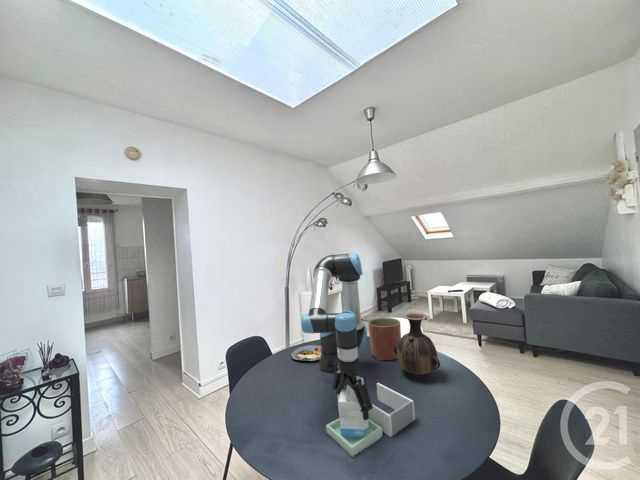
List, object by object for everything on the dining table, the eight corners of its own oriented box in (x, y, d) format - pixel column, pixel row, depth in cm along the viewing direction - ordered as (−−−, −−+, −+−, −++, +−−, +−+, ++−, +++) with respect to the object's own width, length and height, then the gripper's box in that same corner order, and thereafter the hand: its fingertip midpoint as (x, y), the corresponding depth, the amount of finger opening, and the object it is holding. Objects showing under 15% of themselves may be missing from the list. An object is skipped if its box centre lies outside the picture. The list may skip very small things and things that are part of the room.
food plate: (335, 348, 172) (334, 343, 173) (324, 365, 150) (323, 358, 151) (300, 347, 181) (300, 342, 181) (285, 363, 159) (285, 357, 159)
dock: (355, 412, 105) (354, 394, 105) (379, 398, 113) (378, 382, 113) (390, 437, 90) (389, 416, 91) (415, 419, 98) (413, 400, 99)
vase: (388, 370, 138) (384, 313, 139) (417, 361, 145) (412, 308, 146) (420, 391, 117) (414, 324, 118) (451, 379, 124) (446, 316, 125)
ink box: (365, 438, 88) (362, 397, 88) (340, 436, 89) (337, 396, 90) (365, 421, 96) (363, 384, 97) (343, 419, 98) (340, 383, 98)
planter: (407, 360, 148) (404, 325, 148) (373, 363, 148) (371, 327, 149) (397, 347, 167) (395, 316, 167) (368, 349, 167) (365, 318, 168)
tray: (326, 433, 94) (326, 425, 95) (355, 416, 103) (354, 409, 103) (352, 457, 83) (351, 448, 83) (382, 436, 91) (381, 427, 91)
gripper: (320, 351, 101) (325, 407, 101) (363, 372, 82) (369, 443, 81) (335, 345, 106) (340, 400, 105) (380, 365, 86) (385, 432, 85)
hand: (352, 419), depth 93 cm, fingers closed on ink box, 11 cm apart
